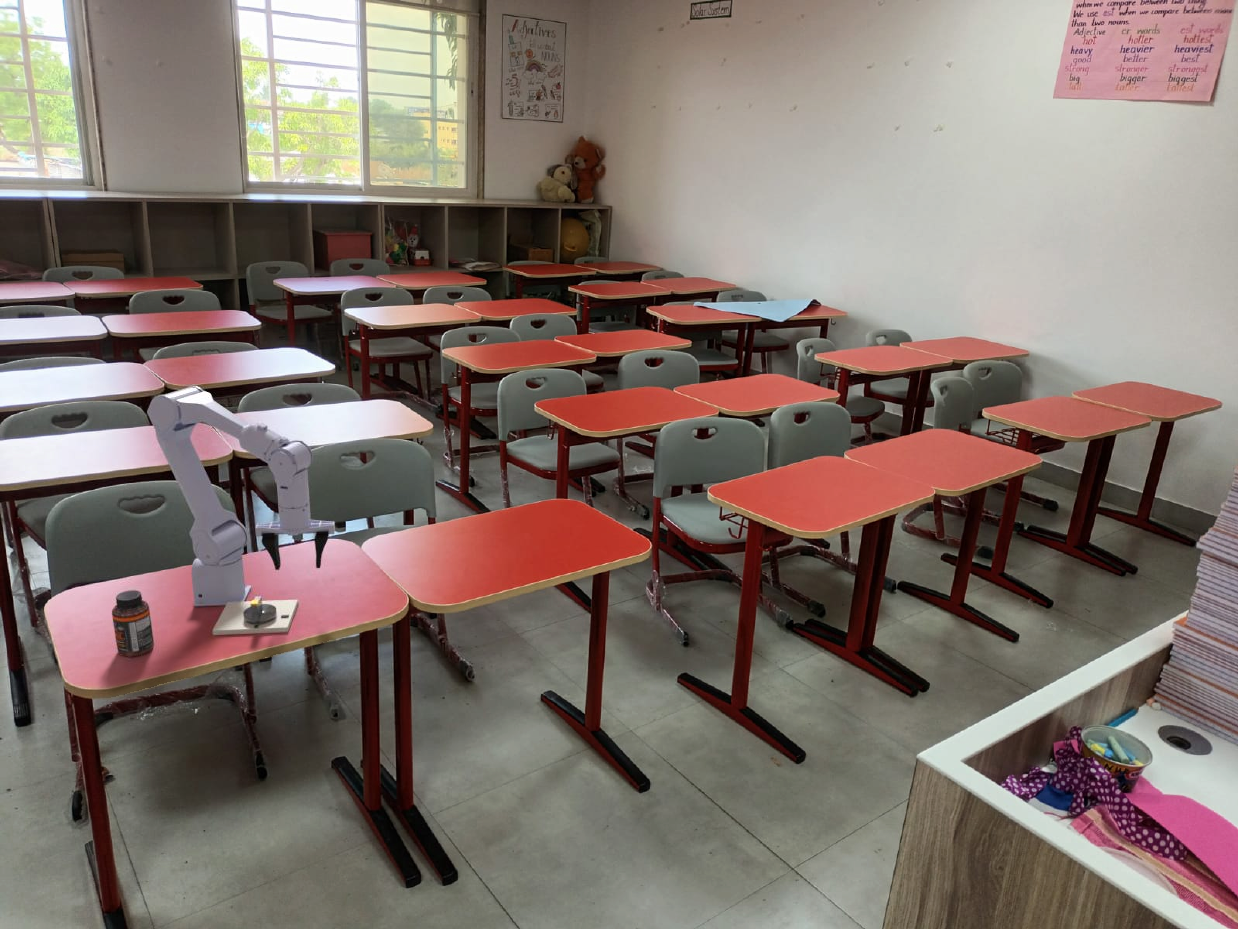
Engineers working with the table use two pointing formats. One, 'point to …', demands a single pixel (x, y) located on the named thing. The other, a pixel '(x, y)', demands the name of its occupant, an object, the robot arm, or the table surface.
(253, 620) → the dial
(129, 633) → the supplement bottle
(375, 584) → the table surface
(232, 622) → the dial plate
